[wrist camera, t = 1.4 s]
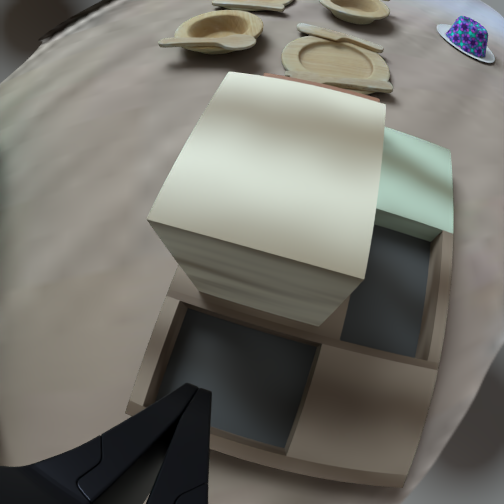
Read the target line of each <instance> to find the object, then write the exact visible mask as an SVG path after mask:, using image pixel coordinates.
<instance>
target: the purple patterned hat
mask: <svg viewBox="0 0 504 504" xmlns="http://www.w3.org/2000/svg"><path fill="white" fill-rule="evenodd" d="M437 30H438V32H439V33H440V34H441V36H442V37H443V38H445V39H446V40H447V41H448V42H449V43H450V44H452V45H453V46H455V47H456V48H457V49H459V50H460V51H462V52H464V53H466V52H467V53H466V54H467V55H469V56H471V57H473V58H475V59H478V60H480V61H483V62H487V63H492V62H494V61H495V58H494V55H493V53H492V52H491V51H490V50H489V48H488V47H487V40H488V33H487V31H486V29H485V28H484V27H483V26H481V25H480V24H479V23H478V22H476V21H474V20H472V19H471V18H468V17H465V16H460V17H459V18H458V19H457V20H456V21H455V23H454V24H453V25H452V26H451V25H446V24H440V25H438V26H437ZM447 31H448V32H447ZM445 32H447V33H446V35H445ZM446 36H447V37H449V38H450V40H449V39H448V38H447V37H446ZM453 43H454V44H455V45H454V44H453ZM456 45H457V46H459V47H460V48H461V49H462V50H461V49H460V48H458V47H457V46H456ZM463 50H464V51H463ZM468 53H470V54H473V55H474V56H473V55H470V54H468ZM485 54H486V57H485ZM475 56H476V57H475ZM481 56H483V57H485V58H478V57H481Z"/></svg>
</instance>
